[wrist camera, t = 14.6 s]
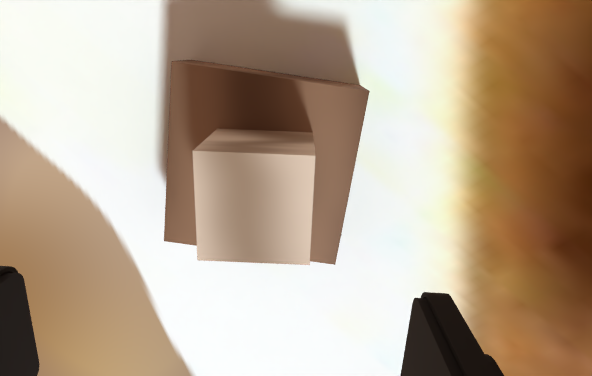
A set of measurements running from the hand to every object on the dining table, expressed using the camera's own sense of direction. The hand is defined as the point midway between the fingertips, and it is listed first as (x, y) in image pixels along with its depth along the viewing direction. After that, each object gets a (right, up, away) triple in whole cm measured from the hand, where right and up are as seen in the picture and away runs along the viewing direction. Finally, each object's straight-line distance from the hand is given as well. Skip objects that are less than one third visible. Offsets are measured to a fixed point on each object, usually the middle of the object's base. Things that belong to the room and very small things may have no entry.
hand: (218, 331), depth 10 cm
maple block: (0, +4, +12) cm, 13 cm away
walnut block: (0, +6, +16) cm, 17 cm away
